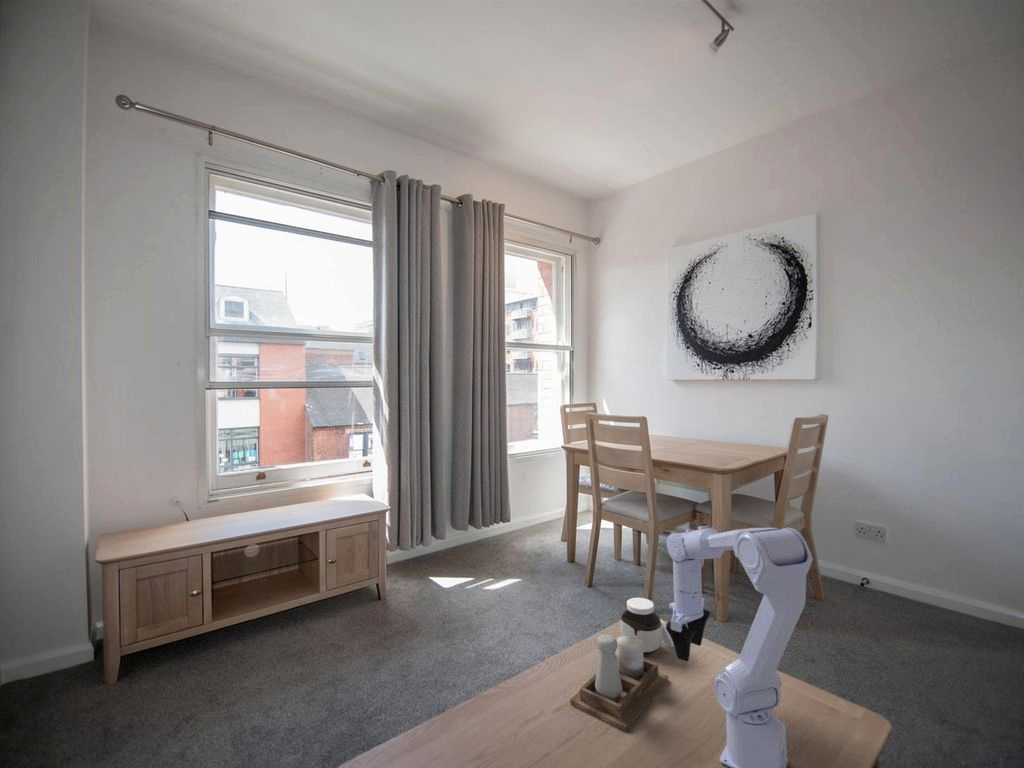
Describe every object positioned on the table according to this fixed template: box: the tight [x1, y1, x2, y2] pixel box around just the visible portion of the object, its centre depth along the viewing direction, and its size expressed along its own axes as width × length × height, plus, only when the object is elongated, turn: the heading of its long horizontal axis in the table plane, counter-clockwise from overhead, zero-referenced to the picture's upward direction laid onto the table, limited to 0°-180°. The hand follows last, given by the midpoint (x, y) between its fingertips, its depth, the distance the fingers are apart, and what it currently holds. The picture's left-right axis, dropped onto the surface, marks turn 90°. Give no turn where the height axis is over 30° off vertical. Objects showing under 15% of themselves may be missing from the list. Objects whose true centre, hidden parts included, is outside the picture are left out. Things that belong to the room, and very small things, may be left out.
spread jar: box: [619, 597, 674, 657], centre depth 122 cm, size 12×11×12 cm
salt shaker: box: [595, 633, 623, 703], centre depth 101 cm, size 6×6×13 cm
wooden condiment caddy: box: [569, 635, 669, 733], centre depth 104 cm, size 13×21×9 cm, turn 139°
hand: (689, 651), depth 101 cm, fingers open, 7 cm apart
